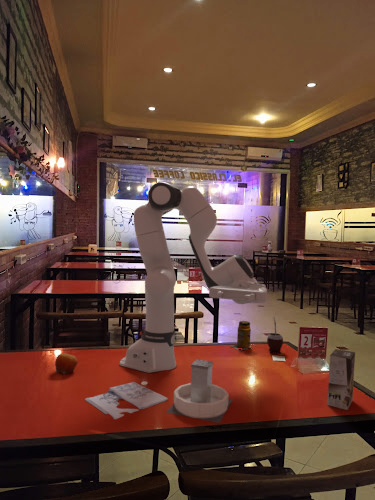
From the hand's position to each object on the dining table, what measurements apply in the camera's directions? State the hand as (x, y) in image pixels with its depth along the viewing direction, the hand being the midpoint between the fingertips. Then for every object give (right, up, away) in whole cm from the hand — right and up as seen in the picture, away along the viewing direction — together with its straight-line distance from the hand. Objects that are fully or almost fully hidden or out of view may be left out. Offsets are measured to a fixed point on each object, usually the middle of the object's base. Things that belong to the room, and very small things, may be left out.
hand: (233, 296), depth 130 cm
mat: (-11, -32, -12) cm, 36 cm away
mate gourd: (+24, -31, +48) cm, 62 cm away
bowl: (-11, -32, -12) cm, 36 cm away
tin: (-11, -31, -12) cm, 35 cm away
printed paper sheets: (-35, -32, -9) cm, 48 cm away
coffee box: (+34, -34, -5) cm, 48 cm away
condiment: (+10, -30, +53) cm, 62 cm away
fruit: (-60, -30, +14) cm, 69 cm away
